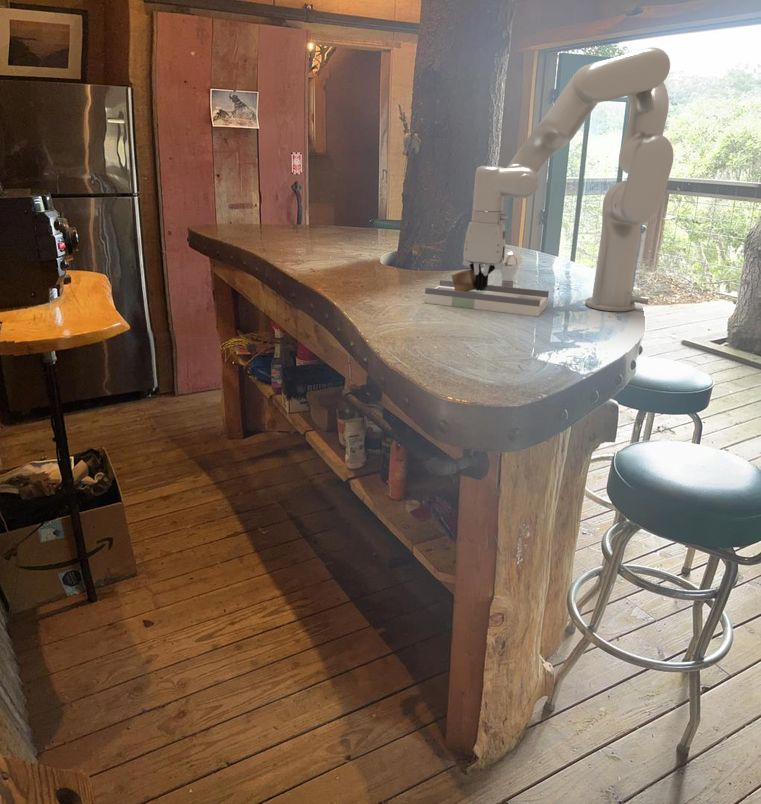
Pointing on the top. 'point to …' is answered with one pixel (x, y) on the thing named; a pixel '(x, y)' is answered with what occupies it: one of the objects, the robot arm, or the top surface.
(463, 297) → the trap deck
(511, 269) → the light bulb
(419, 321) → the top surface
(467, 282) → the walnut block
